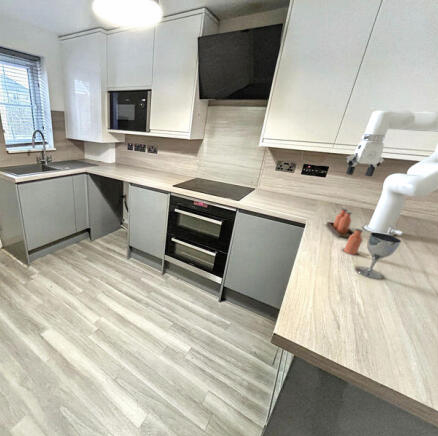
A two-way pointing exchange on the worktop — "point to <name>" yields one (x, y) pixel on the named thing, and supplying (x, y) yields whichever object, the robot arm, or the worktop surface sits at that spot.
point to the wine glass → (379, 251)
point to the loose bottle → (354, 242)
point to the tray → (340, 235)
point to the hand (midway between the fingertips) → (358, 175)
